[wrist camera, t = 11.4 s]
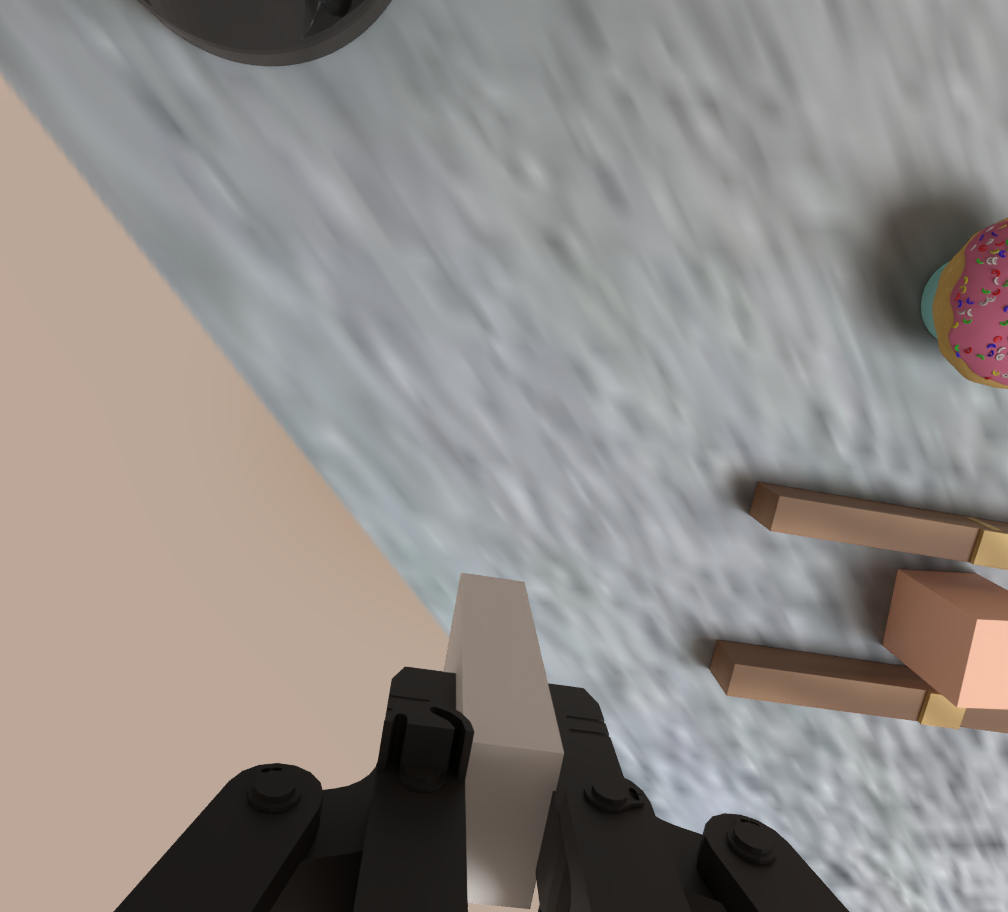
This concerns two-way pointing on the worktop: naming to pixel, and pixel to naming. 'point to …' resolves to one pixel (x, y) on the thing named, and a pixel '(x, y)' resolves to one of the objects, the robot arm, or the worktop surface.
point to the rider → (952, 635)
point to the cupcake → (973, 307)
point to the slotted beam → (853, 679)
